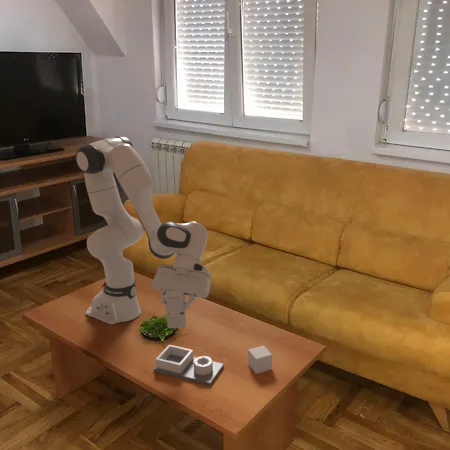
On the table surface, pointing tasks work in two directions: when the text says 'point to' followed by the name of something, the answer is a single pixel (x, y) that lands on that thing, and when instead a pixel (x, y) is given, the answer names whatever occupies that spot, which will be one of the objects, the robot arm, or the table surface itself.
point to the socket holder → (187, 365)
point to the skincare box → (175, 309)
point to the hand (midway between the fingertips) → (174, 305)
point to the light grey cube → (260, 359)
